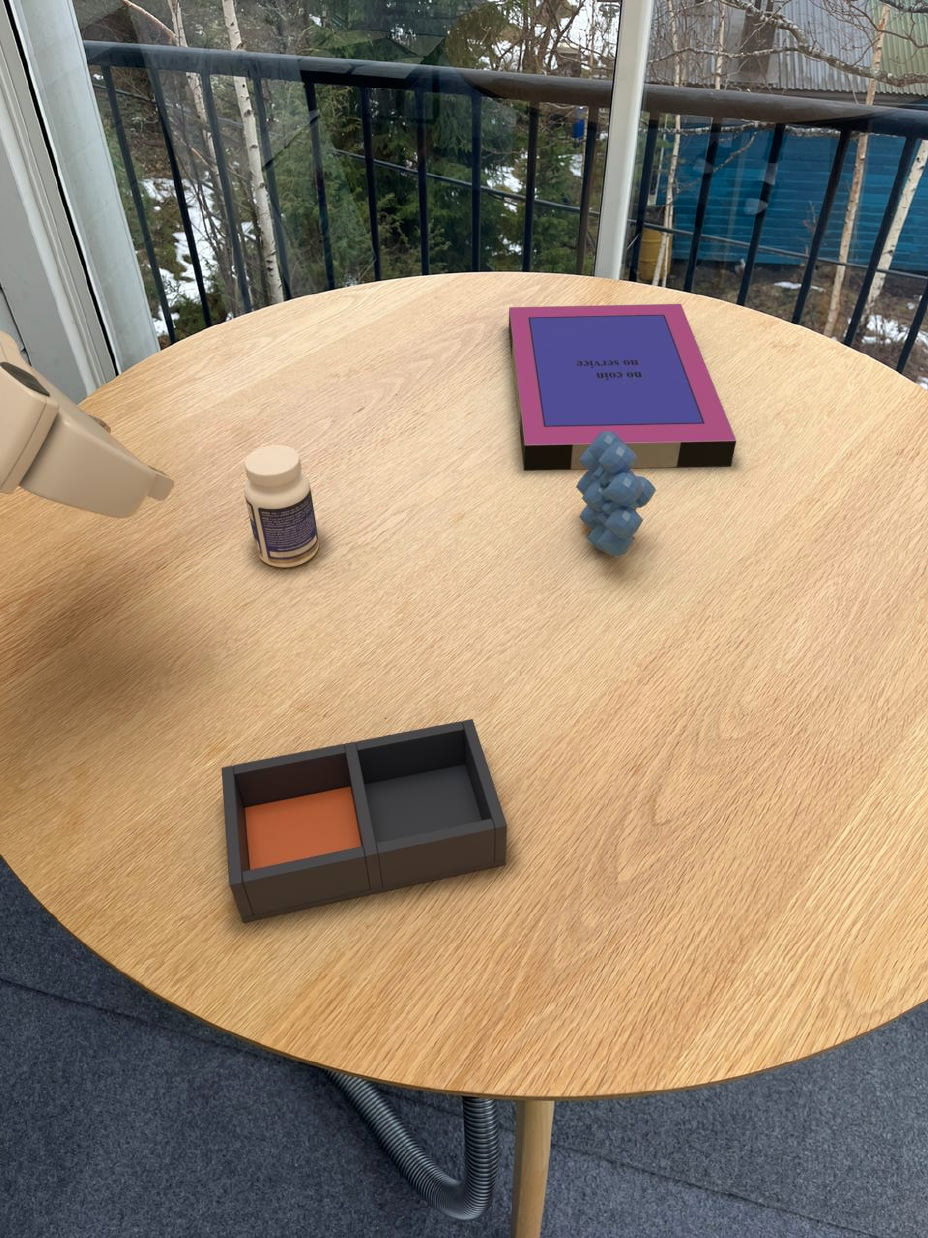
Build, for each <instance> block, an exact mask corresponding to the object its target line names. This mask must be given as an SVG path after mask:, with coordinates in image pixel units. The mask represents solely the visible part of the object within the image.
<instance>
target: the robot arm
mask: <svg viewBox="0 0 928 1238" xmlns="http://www.w3.org/2000/svg"><path fill="white" fill-rule="evenodd" d="M111 432H112V429H111V427H110V425H108V423H106V422H105V421H104V420H103V419H101V418H100V417H99V416H96V415H94V414H91V413H89V412H88V411H85V410H84V409H82V408H81V407H79V406H78V405H77V403H75V402H74V401H73V400H71V398H69V396H67V395H65V394H64V393H63V392H62V391H61V390H60V389H58V388H57V386H55V385H53V383H52V382H51V381H49V380H48V379H47V378H45V376H43V375H42V374H41V373H40V372H38V371H37V370H36V369H35V368H34V367H33V366H32V365H30V364H29V363H27V362H26V361H25V359H24V357H22V354H21V350H20V348H19V346H18V344H17V342H16V340H15V338H13V337H12V336H11V335H9V334H8V333H7V332H5V331H3V330H2V329H0V494H3V495H13V494H14V492H15V491H16V489H18V487H19V488H20V489H22V490H24V491H26V492H28V493H30V494H32V495H34V496H37V497H39V498H42V499H45V500H47V501H51V502H53V503H57V504H60V505H64V506H67V507H71V508H74V509H78V510H82V511H84V512H89V513H93V514H96V515H100V516H104V517H108V518H113V519H121V520H122V519H129V518H131V517H134V516H135V515H137V513H138V512H139V510H140V508H141V507H142V505H143V503H144V502H145V500H146V498H147V497H148V498H151V499H154V500H157V501H160V502H163V501H165V500H167V499H168V497H169V496H170V494H171V491H172V490H173V488H174V487H175V481H174V479H172V478H171V477H170V476H169V475H168V474H167V473H165V472H164V471H163V470H160V469H157V468H155V467H153V466H150V465H148V464H147V463H145V462H144V461H143V460H141V458H139V457H138V456H137V455H135V453H133V452H132V451H131V450H130V449H129V448H127V447H126V446H125V445H124V444H122V442H120V440H118V439H117V438H115V436H113V435H112V434H111Z"/></svg>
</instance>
